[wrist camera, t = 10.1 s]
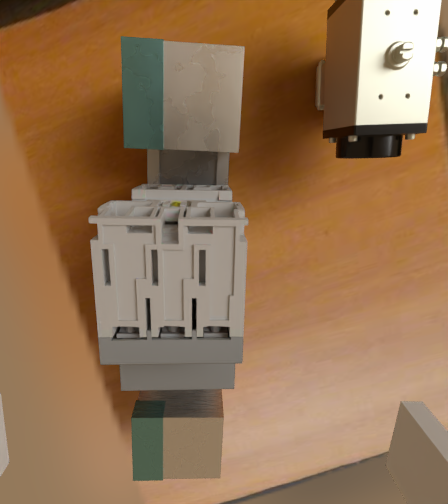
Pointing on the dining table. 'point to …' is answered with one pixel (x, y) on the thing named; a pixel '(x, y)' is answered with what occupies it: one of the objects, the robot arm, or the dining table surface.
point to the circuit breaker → (171, 286)
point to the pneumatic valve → (378, 74)
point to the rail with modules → (182, 173)
